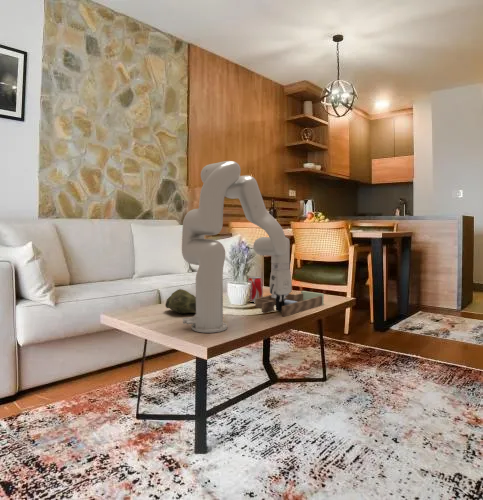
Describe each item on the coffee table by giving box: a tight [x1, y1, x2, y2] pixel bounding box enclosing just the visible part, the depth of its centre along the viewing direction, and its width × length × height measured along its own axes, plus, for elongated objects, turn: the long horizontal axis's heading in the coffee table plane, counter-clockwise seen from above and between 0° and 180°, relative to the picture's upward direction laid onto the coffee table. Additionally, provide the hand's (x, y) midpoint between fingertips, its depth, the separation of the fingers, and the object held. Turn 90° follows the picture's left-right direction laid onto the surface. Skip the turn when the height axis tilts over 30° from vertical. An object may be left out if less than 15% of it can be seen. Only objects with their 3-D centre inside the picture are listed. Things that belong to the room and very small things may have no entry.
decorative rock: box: [165, 288, 196, 315], centre depth 165 cm, size 15×16×10 cm
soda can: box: [247, 275, 264, 302], centre depth 187 cm, size 7×7×12 cm
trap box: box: [254, 292, 323, 317], centre depth 176 cm, size 30×20×4 cm, turn 139°
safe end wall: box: [300, 290, 325, 306], centre depth 185 cm, size 1×11×5 cm, turn 49°
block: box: [284, 300, 298, 306], centre depth 169 cm, size 6×6×4 cm
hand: (280, 310), depth 166 cm, fingers closed
